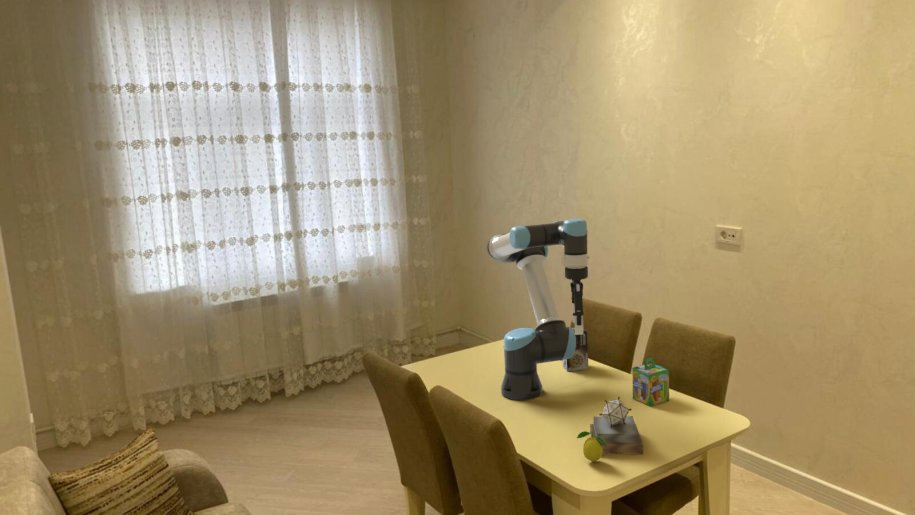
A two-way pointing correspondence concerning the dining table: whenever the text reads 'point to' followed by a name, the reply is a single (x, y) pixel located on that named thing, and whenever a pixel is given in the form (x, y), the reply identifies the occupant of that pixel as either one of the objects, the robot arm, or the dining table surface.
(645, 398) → the chalk box
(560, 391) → the dining table surface
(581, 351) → the coffee box
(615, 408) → the game die
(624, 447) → the tower base
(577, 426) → the dining table surface
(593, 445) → the lemon
